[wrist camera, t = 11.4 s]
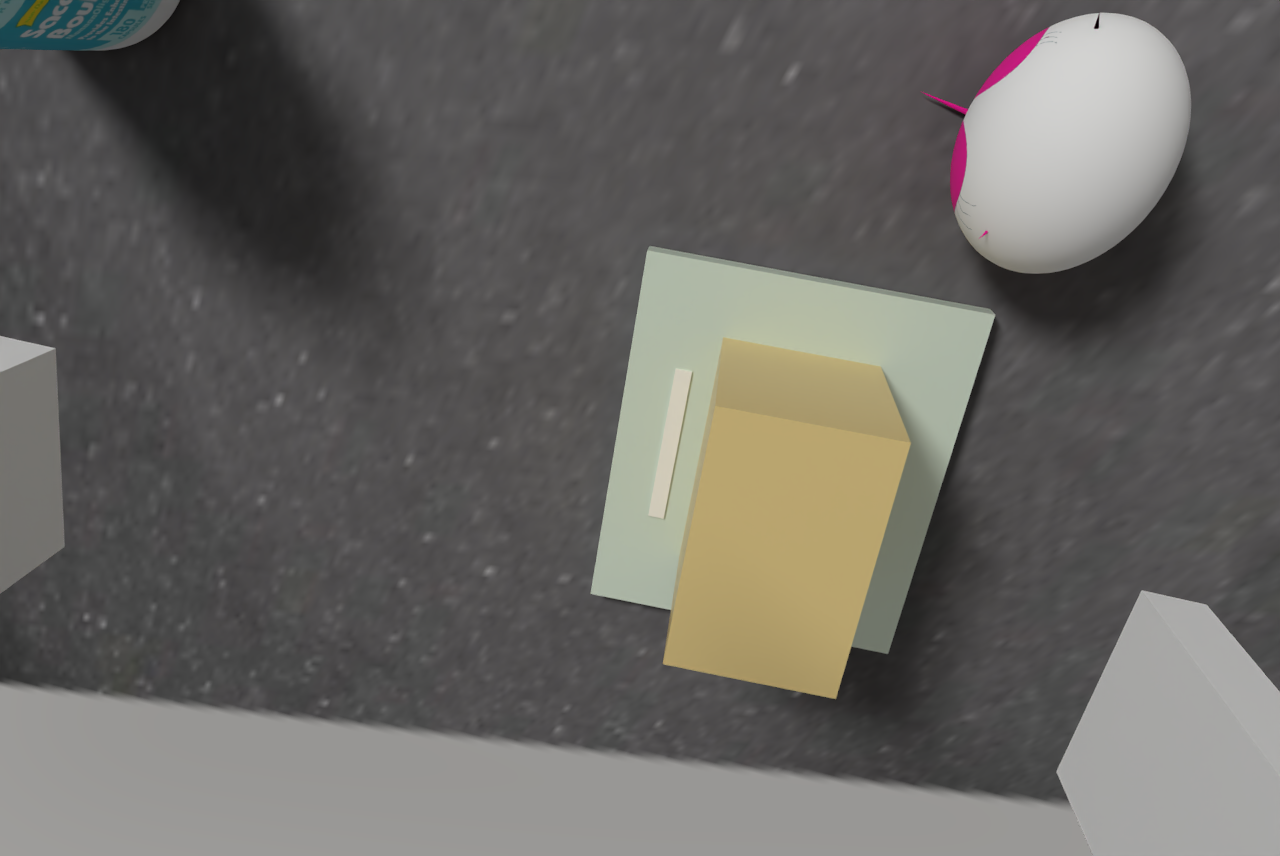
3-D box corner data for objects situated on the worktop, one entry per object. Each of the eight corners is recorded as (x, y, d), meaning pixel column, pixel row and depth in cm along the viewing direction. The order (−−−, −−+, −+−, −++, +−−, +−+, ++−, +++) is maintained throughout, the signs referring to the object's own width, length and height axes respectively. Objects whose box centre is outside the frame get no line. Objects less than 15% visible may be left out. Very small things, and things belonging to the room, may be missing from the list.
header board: (593, 583, 39) (573, 649, 34) (649, 246, 33) (634, 274, 29) (885, 642, 38) (901, 716, 34) (990, 308, 33) (1024, 347, 28)
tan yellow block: (679, 556, 37) (662, 664, 30) (723, 336, 33) (714, 405, 27) (821, 584, 37) (835, 699, 30) (880, 366, 33) (910, 442, 27)
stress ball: (1017, 9, 32) (950, -61, 27) (1258, 87, 28) (1235, 22, 23) (910, 217, 35) (830, 190, 30) (1117, 315, 31) (1067, 305, 26)
